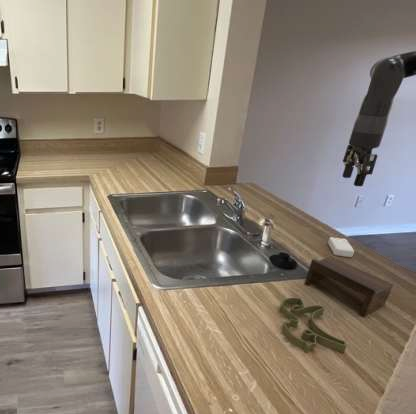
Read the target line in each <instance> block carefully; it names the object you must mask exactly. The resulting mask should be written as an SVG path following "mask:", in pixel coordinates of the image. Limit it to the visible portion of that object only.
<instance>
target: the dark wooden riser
mask: <svg viewBox="0 0 416 414" xmlns="http://www.w3.org/2000/svg"><path fill="white" fill-rule="evenodd" d="M327 278H329V279H330V280H332V281H334V282H336V283H338V284H340V285H342V286H344V287H346V288H348V289H349V290H352V291H354V292H356V293H358V294H360V295H362V296H364V297H365V298H364V301H363V304H362V306H361V308H360V311H359V313H358V314H359V316H360V317H363V318H366V317H367V316H369V315H371V314H372V313H374V312H376V311H378V310H379V309H381V308H383V307H384V306H386V303H387V301H388V298H389V296H390V294H391V291H392V289H393V286H394V284H393V283H391V282H389V281H386V280H384V279H383V278H380V277H377V276H375V275H373V274H371V273H369V272H367V271H365V270H362V269H360V268H358V267H356V266H354V265H351V264H349V263H347V262H345V261H343V260H341V259H338V258H336V257H334V256H332V255H330V256H327V257H325V258H322V259H319V260H317V259H315V258H313V259H311V261H310V264H309V268H308V270H307V274H306V278H305V282H304V285H305V286H306V287H310V286H312V285H314V284H316V283H319V282H320V281H323V280H326V279H327Z"/></svg>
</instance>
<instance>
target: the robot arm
mask: <svg viewBox="0 0 416 414" xmlns="http://www.w3.org/2000/svg"><path fill="white" fill-rule="evenodd" d="M414 76H416V50H413V51H409V52H404V53H399V54H395V55H392V56H391V55H390V56H387V57H384V58H381V59H379V60H377V61H376V62H375V63H374V64H373V65H372V66H371V68H370V70H369V77H370V82H369V85H368V89H367V92H366V95H365V96H364V97H363V99H362V101H361V104H360V108H359V111H358V114H357V116H356V119H355V121H354V123H353V127H352V131H351V134H350V138H349V140H348V144H347V147H346V149H345V153H344V155H343V159H342V163H344V169H343V172H342V175H341V176H342V178H345V179H350V178H352V175H353V172H354V169H355V168H356V170H357V171H356V176H355V179H354V181H353V185H354V187H363V186H364V184H365V180H366V177H367V176H368V175H369V176H370V175H372V174H373V172H374V169H375V166H376V163H377V159H378V154H375V153H373V149H377V148H378V149H379V147H380V145H381V143H382V139H383V137H384V134H385V130H386V128H387V125H388V120H389V116H390V113H391V110H392V107H393V104H394V100H395V97H396V95H397V93H398V91H399V89H400V87H401V85H402V83H403V80H404V79H407V78H411V77H414ZM354 167H355V168H354Z"/></svg>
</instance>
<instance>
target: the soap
mask: <svg viewBox="0 0 416 414" xmlns="http://www.w3.org/2000/svg"><path fill="white" fill-rule="evenodd" d="M327 244H328V246H329V248H330V249H331V252H332V253H333V255H334V256H338V257H344V258H345V257H346V258H353V257H354V254H355V250H354V248H353V247H352V245H351V244H350V242H349V241H348V240H347V239H346V238H339V237H332V236H330V237H329V239H328V241H327Z"/></svg>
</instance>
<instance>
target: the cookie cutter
mask: <svg viewBox="0 0 416 414" xmlns="http://www.w3.org/2000/svg"><path fill="white" fill-rule="evenodd" d="M287 305H288V306H289V305H292V307H291V310H289V309H287V308H286V307H285V306H287ZM280 312H281V314H282V315H283V316H284V317H285V318H287V319H288V321H283V323H282V327H281V329H282V332H283V334H284V336H285V337H286V338H287V340H288V341H289V342H291V343H292V344H293V345H295V346H296V347H299V348H301V349H303V351H304V352H305V354H308V353H309V352H310V351H314V350H315V347H316V345H317V344H320V345H321V346H324V347H326V348H329V349H332V350H334V351H336V352H340V353H342V354H343V353H345V351H346V349H347V342H346V341H345V340H343V339H340V338H338V337H337V336H336V337H335V336H334V335H332V334H329V333H328V332H326V331H325V330H323V329H322V328H320V326H319V325H318V324H317V323H316V321H315V320H314V319H315V318H317V317H320V316H323V314H324V312H325V308H324V306H322V305H321V304H320V305H319V304H315V305H307V306H305V302H304V300H303V299H302V298H301V297H288V298H287V297H286V298H285V299H283V300H282V303H281V306H280ZM309 313H312V314H311V317H310V320H309V327H310V328H311V330H310V329H309V328H308V329H307V328H305V329H303V332H302V335H301V338H300V337H298V336H296V335H294V334H293V332H292V331H290V330H289V329H290V327H292V328H297V327H298V325H299V322H300V319H299V318H298V316H301V315H304V314H309ZM308 342H310V343H309V344H308Z"/></svg>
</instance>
